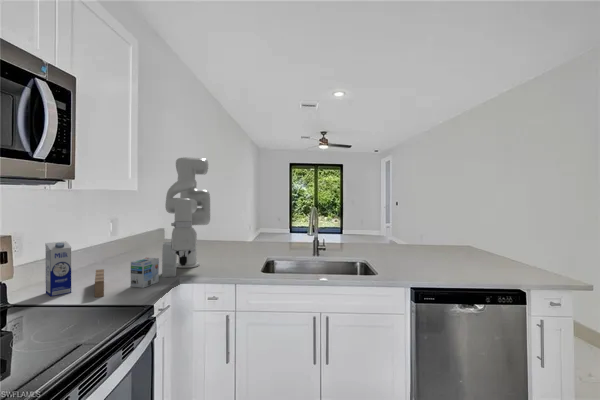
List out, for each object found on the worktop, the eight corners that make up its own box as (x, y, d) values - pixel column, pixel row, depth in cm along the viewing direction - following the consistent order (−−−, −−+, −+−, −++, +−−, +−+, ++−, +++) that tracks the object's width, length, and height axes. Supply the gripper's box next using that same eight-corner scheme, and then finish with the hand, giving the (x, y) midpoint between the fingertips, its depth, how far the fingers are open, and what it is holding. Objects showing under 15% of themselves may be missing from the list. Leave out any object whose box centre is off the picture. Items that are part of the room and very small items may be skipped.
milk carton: (66, 289, 138) (66, 240, 138) (71, 292, 134) (71, 242, 133) (45, 293, 132) (44, 242, 132) (50, 296, 128) (50, 244, 128)
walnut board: (96, 283, 147) (96, 269, 147) (103, 282, 149) (103, 269, 149) (94, 297, 128) (94, 281, 128) (103, 296, 130) (103, 280, 130)
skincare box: (162, 273, 166) (162, 242, 166) (176, 272, 168) (176, 241, 168) (161, 277, 158) (161, 244, 158) (176, 276, 161) (176, 244, 160)
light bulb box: (143, 288, 141) (143, 262, 141) (129, 287, 142) (129, 261, 142) (159, 281, 152) (159, 257, 151) (146, 280, 153) (146, 257, 153)
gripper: (167, 226, 147) (166, 268, 147) (201, 225, 155) (201, 265, 155) (164, 225, 154) (164, 265, 154) (197, 224, 161) (197, 262, 161)
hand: (183, 265), depth 154 cm, fingers closed
